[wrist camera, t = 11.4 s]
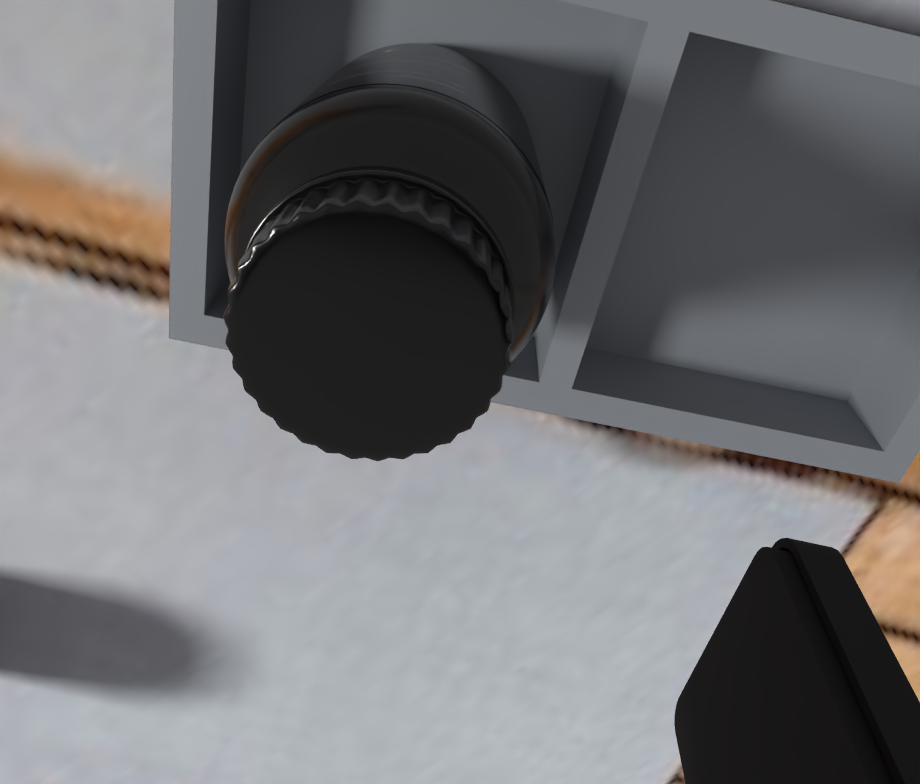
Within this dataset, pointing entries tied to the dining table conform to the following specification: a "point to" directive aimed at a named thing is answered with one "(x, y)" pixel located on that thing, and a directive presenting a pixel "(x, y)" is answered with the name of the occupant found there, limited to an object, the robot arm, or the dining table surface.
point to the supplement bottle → (388, 254)
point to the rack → (637, 202)
